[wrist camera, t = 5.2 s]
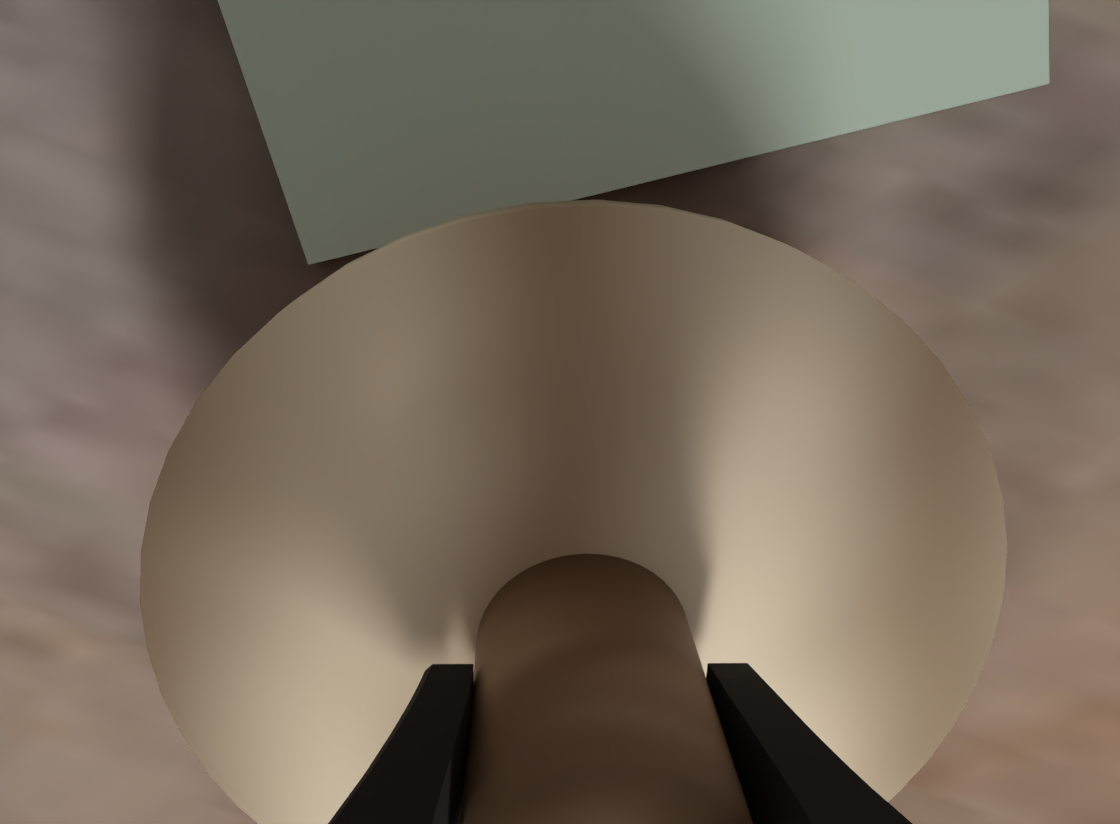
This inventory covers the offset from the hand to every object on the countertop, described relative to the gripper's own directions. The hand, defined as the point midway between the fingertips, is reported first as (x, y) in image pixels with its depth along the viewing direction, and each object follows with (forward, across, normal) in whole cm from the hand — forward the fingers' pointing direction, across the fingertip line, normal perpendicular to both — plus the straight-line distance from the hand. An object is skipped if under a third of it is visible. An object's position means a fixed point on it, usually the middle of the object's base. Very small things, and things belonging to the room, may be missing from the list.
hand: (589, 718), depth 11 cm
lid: (+2, 0, 0) cm, 2 cm away
